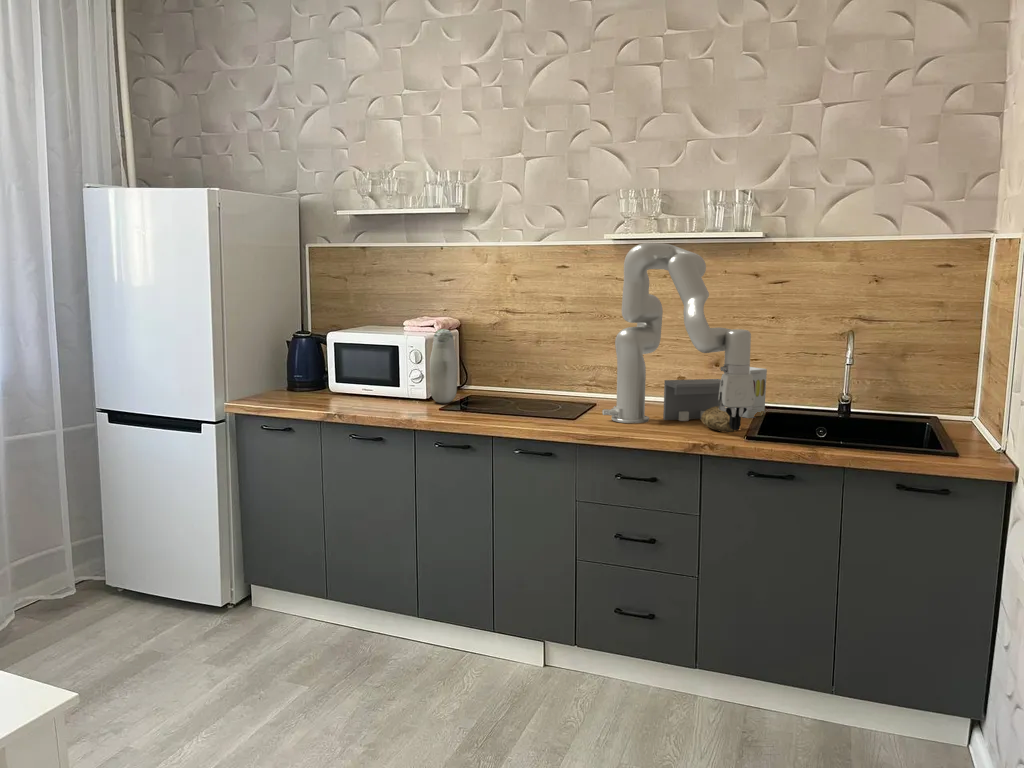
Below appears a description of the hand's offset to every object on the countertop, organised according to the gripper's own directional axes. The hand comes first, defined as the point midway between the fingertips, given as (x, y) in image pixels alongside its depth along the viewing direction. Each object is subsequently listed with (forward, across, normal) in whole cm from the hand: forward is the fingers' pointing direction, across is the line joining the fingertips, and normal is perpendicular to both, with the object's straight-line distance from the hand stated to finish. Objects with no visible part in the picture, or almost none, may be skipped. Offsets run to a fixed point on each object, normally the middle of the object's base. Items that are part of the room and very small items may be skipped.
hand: (734, 428), depth 258 cm
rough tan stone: (+3, +2, +12) cm, 12 cm away
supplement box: (+2, +22, +34) cm, 40 cm away
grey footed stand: (+2, 0, +28) cm, 28 cm away
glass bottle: (+1, -79, +78) cm, 112 cm away
